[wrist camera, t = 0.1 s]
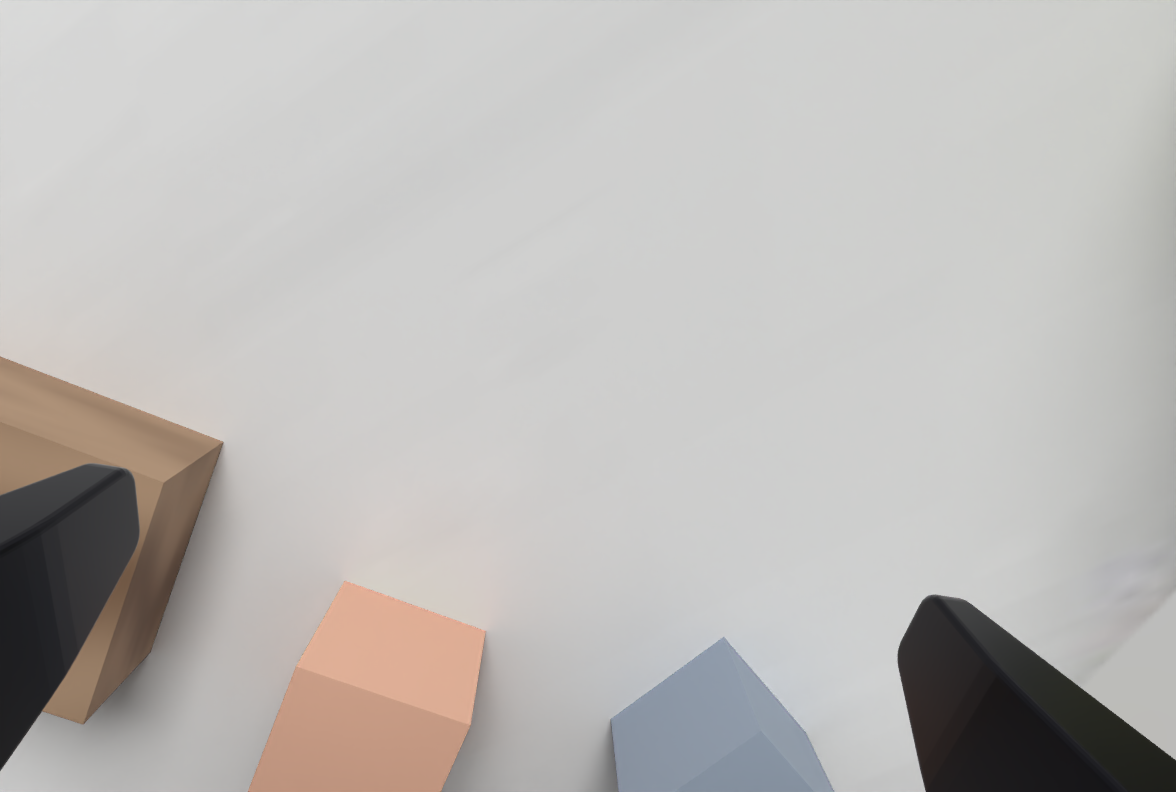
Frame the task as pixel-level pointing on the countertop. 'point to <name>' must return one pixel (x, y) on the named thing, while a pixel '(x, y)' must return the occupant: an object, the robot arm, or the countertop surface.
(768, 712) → the slate-blue cube
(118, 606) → the walnut base block
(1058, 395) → the countertop surface
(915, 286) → the countertop surface
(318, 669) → the terracotta cube
